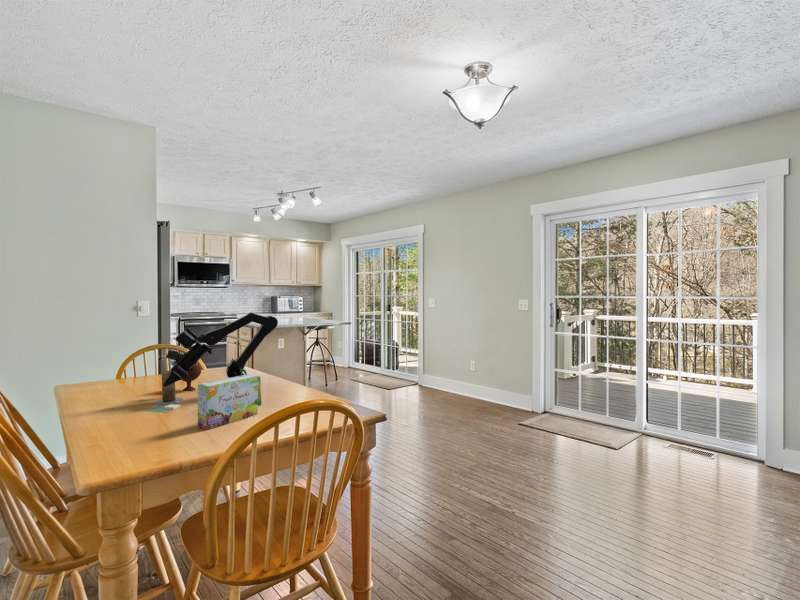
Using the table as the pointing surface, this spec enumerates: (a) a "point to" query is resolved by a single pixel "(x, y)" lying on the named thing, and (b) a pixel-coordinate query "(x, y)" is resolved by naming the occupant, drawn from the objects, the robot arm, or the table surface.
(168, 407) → the mat
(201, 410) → the snack box
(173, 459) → the table surface
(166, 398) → the pepper mill
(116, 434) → the table surface
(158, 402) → the trivet
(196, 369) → the ice cream bowl
